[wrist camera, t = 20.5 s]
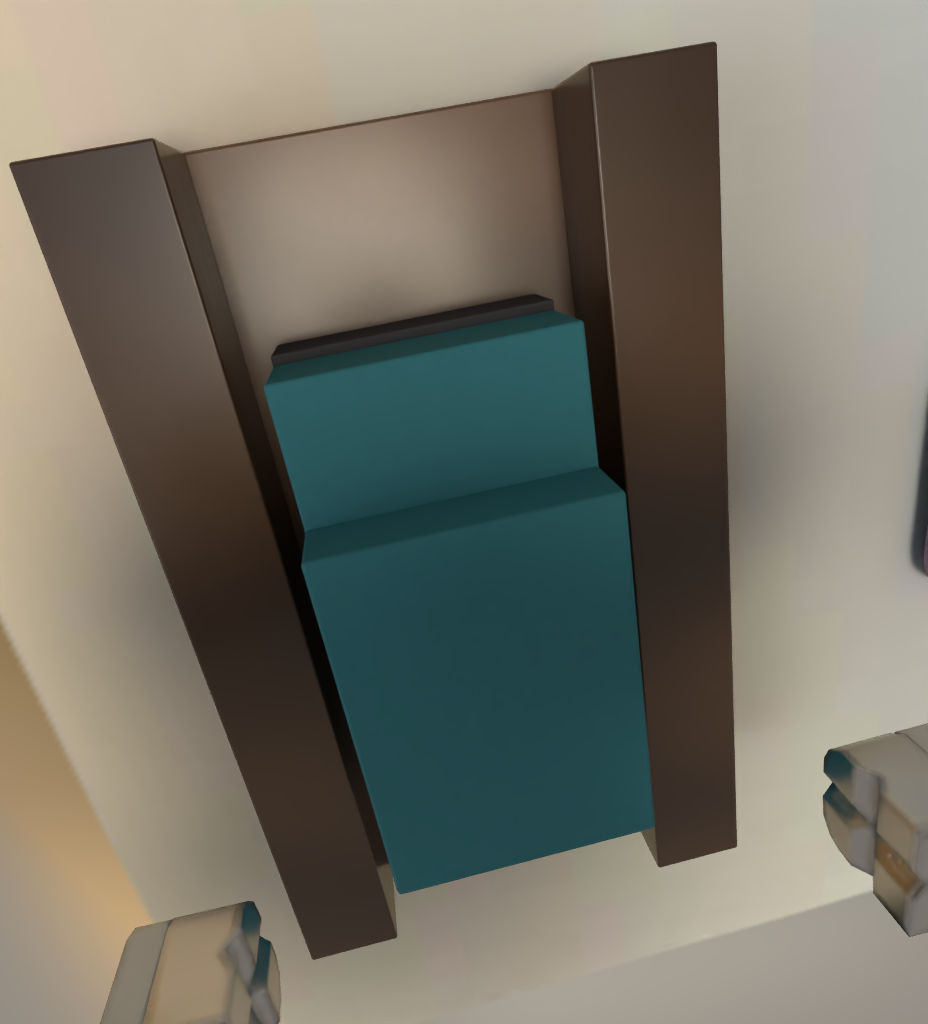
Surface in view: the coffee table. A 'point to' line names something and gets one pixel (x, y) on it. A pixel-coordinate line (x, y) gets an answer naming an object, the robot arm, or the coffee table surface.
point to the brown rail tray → (389, 298)
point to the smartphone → (926, 554)
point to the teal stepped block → (470, 583)
